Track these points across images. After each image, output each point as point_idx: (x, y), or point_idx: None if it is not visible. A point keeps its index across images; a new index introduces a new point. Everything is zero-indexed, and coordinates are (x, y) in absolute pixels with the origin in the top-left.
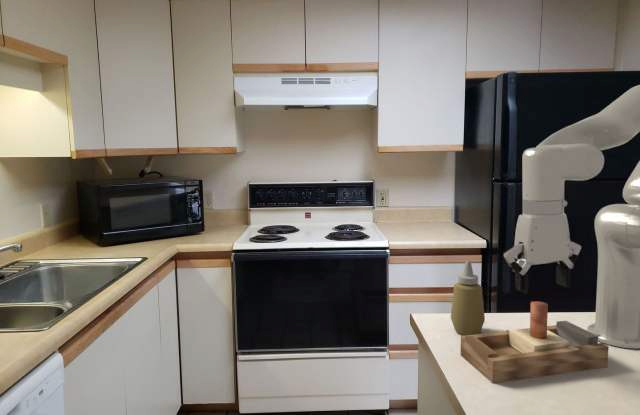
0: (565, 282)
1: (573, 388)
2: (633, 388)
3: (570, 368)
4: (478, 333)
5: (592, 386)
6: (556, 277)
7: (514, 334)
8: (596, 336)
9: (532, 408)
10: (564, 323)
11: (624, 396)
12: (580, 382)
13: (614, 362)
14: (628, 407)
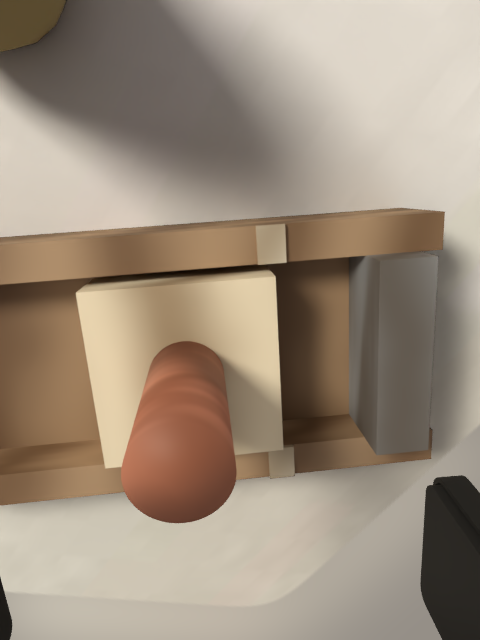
0: (441, 620)
1: None
2: (358, 530)
3: None
4: (40, 37)
5: (252, 511)
6: (457, 529)
7: (83, 334)
8: (419, 450)
9: (6, 587)
10: (399, 293)
11: (299, 560)
12: (234, 488)
13: (444, 391)
14: (266, 601)
